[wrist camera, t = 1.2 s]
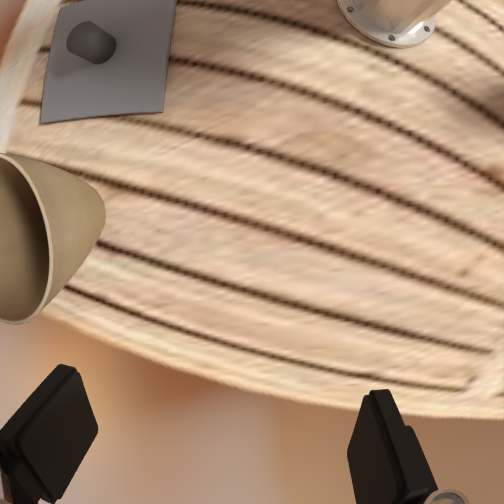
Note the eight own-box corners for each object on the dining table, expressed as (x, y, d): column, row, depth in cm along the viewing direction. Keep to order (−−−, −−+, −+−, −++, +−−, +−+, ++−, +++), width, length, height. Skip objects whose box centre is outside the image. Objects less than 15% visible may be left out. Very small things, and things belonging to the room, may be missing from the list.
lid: (65, 11, 29) (40, -5, 23) (180, -12, 28) (166, -38, 22) (47, 123, 33) (15, 120, 27) (164, 113, 33) (143, 103, 27)
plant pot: (157, 200, 35) (82, 229, 19) (96, 292, 38) (23, 354, 23) (72, 127, 33) (-22, 120, 18) (23, 221, 36) (-61, 251, 21)
